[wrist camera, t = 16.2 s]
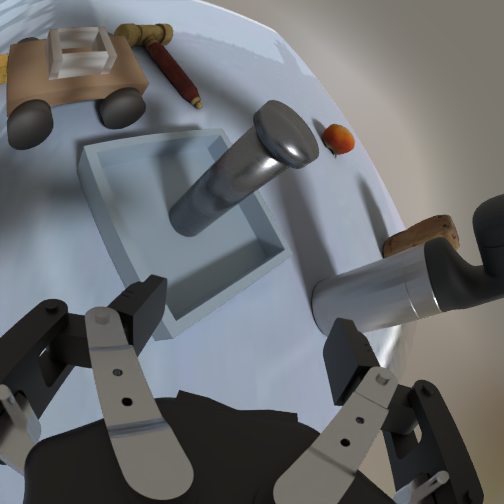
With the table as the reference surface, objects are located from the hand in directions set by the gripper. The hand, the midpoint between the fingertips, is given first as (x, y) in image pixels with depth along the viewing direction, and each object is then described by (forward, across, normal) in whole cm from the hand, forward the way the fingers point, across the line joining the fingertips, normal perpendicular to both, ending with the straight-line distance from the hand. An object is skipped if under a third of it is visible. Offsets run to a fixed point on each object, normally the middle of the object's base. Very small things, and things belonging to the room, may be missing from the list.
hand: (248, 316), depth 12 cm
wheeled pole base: (+15, +26, -12) cm, 33 cm away
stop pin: (+16, +8, 0) cm, 18 cm away
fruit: (+60, -13, -16) cm, 63 cm away
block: (+54, -35, +7) cm, 64 cm away
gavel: (+30, +21, -19) cm, 42 cm away
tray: (+17, +8, +1) cm, 19 cm away
